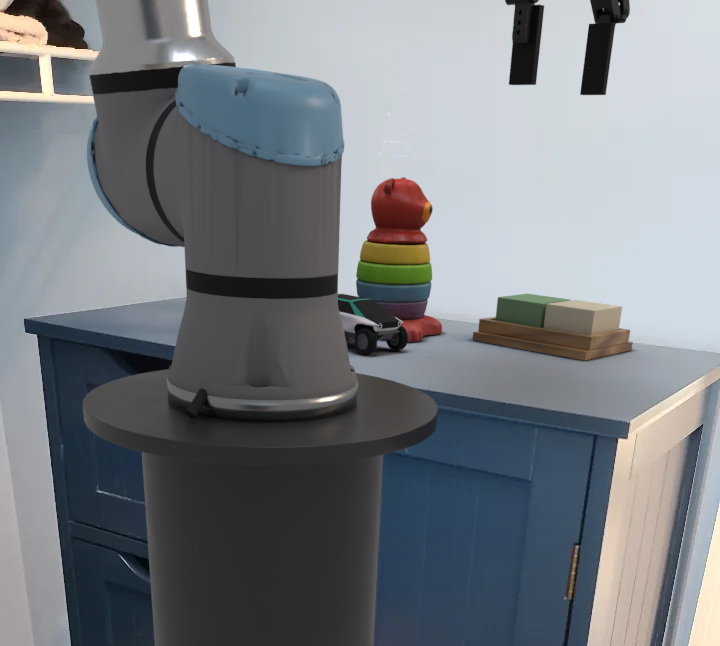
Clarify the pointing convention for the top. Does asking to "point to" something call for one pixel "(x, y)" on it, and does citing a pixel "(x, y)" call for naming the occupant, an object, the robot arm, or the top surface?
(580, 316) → the beige block
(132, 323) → the top surface
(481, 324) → the frame
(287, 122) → the robot arm
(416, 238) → the stacking bear
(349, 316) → the toy car
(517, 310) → the sage block
